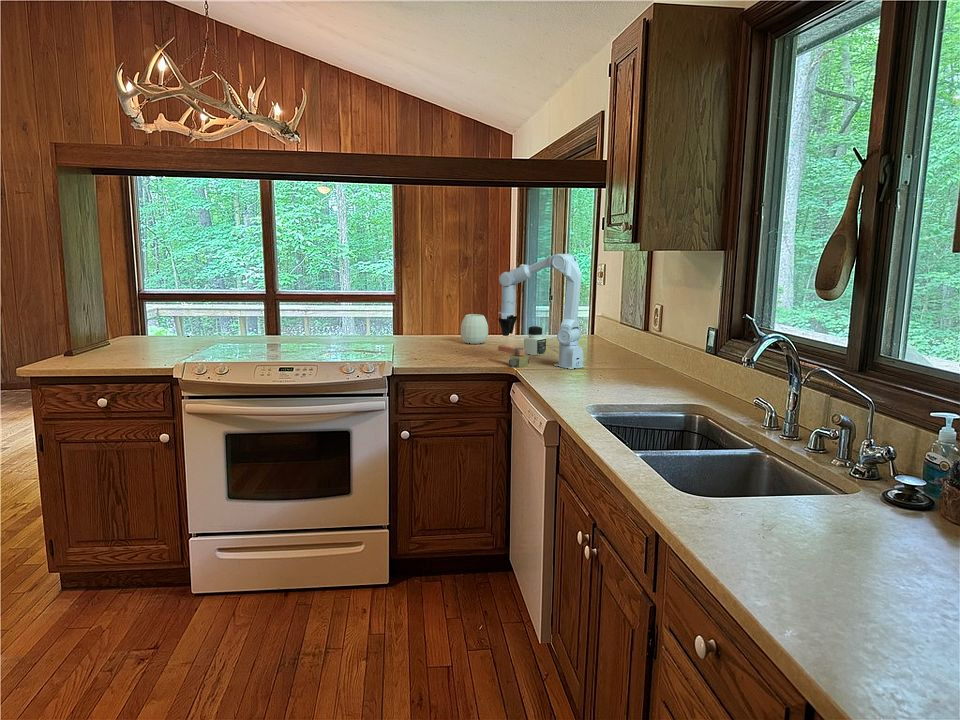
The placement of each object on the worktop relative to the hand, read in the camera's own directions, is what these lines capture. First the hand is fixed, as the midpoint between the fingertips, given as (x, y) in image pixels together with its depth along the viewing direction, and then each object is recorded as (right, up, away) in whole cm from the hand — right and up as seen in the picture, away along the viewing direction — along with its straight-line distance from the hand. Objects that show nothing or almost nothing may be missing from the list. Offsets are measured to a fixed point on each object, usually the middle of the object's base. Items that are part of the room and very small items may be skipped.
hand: (507, 334), depth 281 cm
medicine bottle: (+12, -8, +17) cm, 22 cm away
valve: (+4, -13, -12) cm, 18 cm away
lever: (+1, -8, -9) cm, 12 cm away
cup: (-14, -3, +45) cm, 47 cm away
